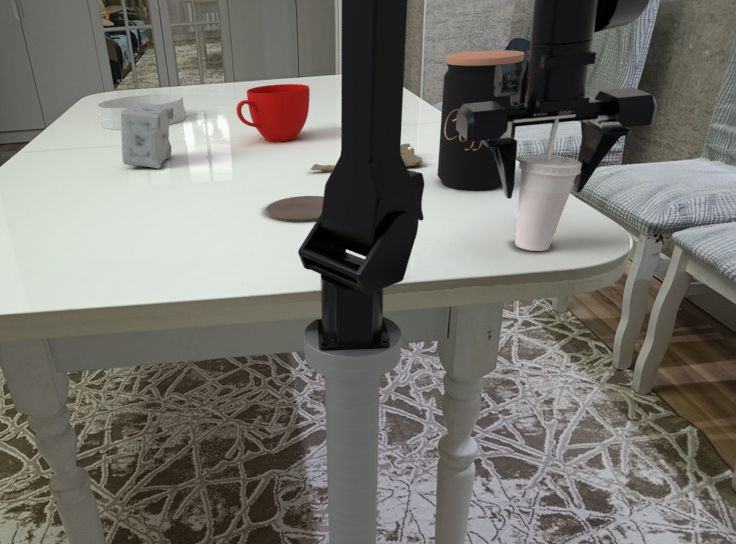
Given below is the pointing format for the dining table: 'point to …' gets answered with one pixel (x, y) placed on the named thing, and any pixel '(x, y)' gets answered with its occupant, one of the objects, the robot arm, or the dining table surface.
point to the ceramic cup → (277, 110)
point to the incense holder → (146, 135)
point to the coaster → (297, 209)
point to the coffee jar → (461, 86)
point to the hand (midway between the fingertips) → (542, 194)
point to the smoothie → (543, 195)
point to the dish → (113, 108)
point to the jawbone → (406, 155)
